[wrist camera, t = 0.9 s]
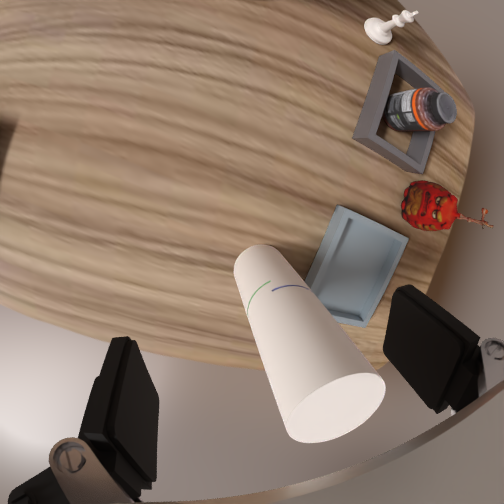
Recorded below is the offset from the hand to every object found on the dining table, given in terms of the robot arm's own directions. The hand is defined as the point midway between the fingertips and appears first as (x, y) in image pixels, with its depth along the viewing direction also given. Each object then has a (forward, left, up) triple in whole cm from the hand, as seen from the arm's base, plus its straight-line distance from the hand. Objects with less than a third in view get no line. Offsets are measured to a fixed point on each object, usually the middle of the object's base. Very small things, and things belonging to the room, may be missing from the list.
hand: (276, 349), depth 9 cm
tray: (+2, +22, -28) cm, 35 cm away
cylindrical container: (+6, +8, -28) cm, 30 cm away
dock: (-23, +19, -28) cm, 41 cm away
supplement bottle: (-23, +19, -28) cm, 41 cm away
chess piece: (-35, +12, -28) cm, 46 cm away
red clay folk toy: (-11, +29, -28) cm, 42 cm away
